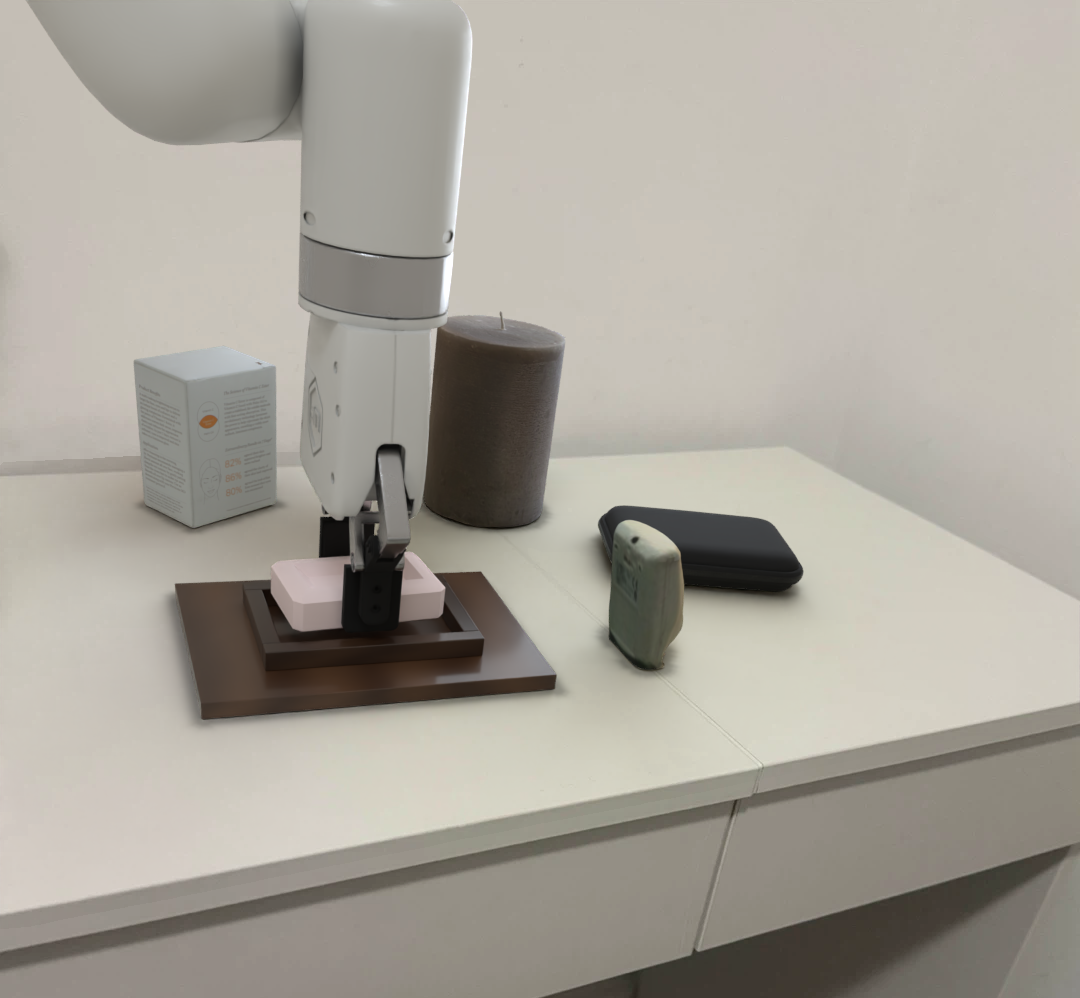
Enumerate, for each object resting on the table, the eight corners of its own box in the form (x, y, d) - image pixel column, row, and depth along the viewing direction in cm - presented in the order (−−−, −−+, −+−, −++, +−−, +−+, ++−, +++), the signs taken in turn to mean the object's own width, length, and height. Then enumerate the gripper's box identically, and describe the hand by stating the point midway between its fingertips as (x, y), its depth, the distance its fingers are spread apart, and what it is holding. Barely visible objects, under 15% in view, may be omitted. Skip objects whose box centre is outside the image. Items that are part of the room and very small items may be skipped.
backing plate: (201, 719, 55) (199, 683, 54) (175, 597, 66) (173, 565, 64) (554, 689, 62) (560, 657, 61) (479, 584, 73) (483, 555, 72)
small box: (229, 482, 82) (225, 343, 77) (279, 505, 80) (279, 363, 74) (141, 505, 77) (130, 357, 71) (191, 530, 74) (185, 379, 69)
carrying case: (765, 542, 87) (589, 526, 85) (774, 507, 85) (595, 490, 83) (804, 601, 78) (609, 585, 76) (815, 563, 76) (616, 546, 74)
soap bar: (268, 594, 63) (269, 557, 62) (412, 582, 67) (415, 547, 66) (294, 637, 59) (295, 598, 58) (445, 622, 63) (448, 585, 62)
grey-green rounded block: (572, 645, 67) (592, 527, 63) (614, 620, 71) (636, 508, 67) (649, 679, 65) (675, 560, 61) (689, 651, 69) (716, 537, 65)
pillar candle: (454, 533, 80) (474, 328, 72) (404, 486, 87) (416, 294, 79) (564, 523, 84) (594, 329, 77) (508, 479, 91) (530, 297, 83)
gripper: (270, 240, 58) (268, 543, 68) (337, 321, 45) (322, 682, 55) (403, 251, 61) (382, 541, 71) (501, 331, 48) (460, 673, 58)
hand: (356, 600), depth 63 cm, fingers closed on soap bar, 5 cm apart
